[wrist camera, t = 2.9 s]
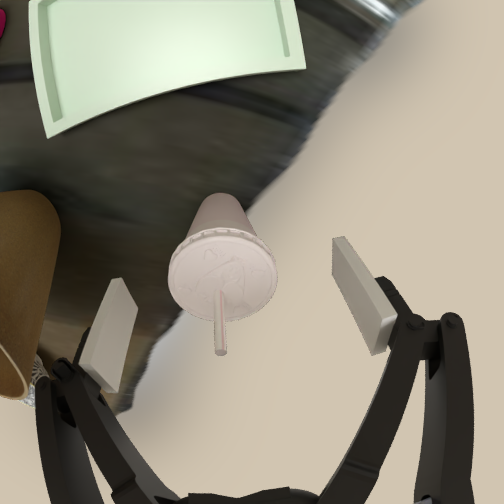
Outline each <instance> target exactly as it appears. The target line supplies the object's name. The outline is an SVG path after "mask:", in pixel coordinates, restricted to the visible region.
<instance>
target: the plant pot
mask: <svg viewBox="0 0 504 504" xmlns="http://www.w3.org/2000/svg"><path fill="white" fill-rule="evenodd" d="M60 237H61V225H60V220H59V217H58V214H57V212H56V210H55V208H54V207H53V205H52V204H51V202H50V201H49V200H48V199H47V198H46V197H45V196H44V195H42V194H41V193H39V192H37V191H34V190H15V191H6V192H0V396H1V397H4V398H8V399H12V400H23V399H25V398H26V397H27V396H28V392H29V387H30V381H31V376H32V371H33V366H34V361H35V356H36V351H37V347H38V343H39V338H40V334H41V329H42V325H43V320H44V316H45V311H46V307H47V302H48V298H49V293H50V288H51V284H52V279H53V274H54V269H55V264H56V259H57V254H58V248H59V243H60Z"/></svg>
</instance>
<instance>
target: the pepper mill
mask: <svg viewBox="0 0 504 504" xmlns="http://www.w3.org/2000/svg"><path fill="white" fill-rule="evenodd" d="M5 22H6V15H5V12H4V11H3V10H2V9H0V38H1V36H2V33H3V30H4V27H5Z"/></svg>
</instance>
